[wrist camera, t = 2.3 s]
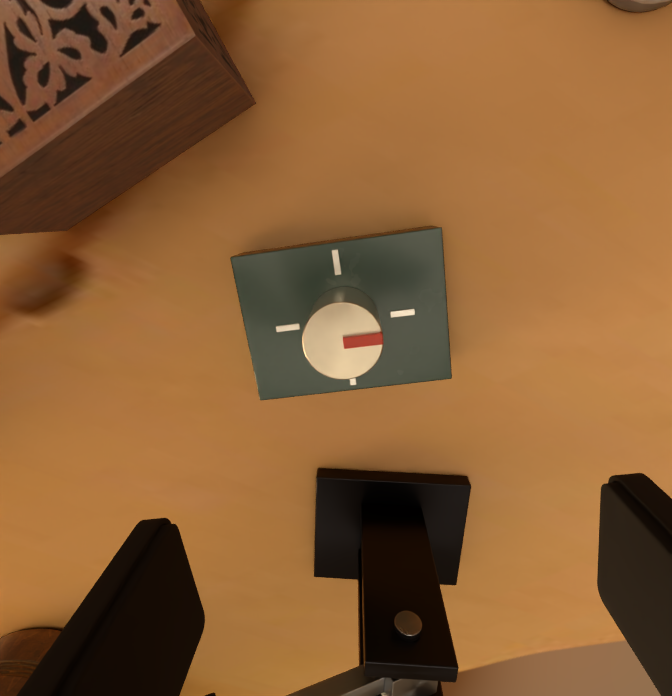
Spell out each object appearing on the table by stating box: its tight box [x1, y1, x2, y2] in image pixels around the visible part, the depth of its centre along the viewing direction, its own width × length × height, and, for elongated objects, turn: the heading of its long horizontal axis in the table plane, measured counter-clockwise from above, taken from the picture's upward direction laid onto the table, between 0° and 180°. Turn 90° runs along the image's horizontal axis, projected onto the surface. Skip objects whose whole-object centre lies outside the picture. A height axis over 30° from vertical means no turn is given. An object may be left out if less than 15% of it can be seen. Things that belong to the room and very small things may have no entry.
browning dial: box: [302, 287, 384, 380], centre depth 23 cm, size 4×4×5 cm
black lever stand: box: [314, 468, 471, 696], centre depth 27 cm, size 11×9×13 cm
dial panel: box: [230, 226, 452, 400], centre depth 27 cm, size 12×9×3 cm
